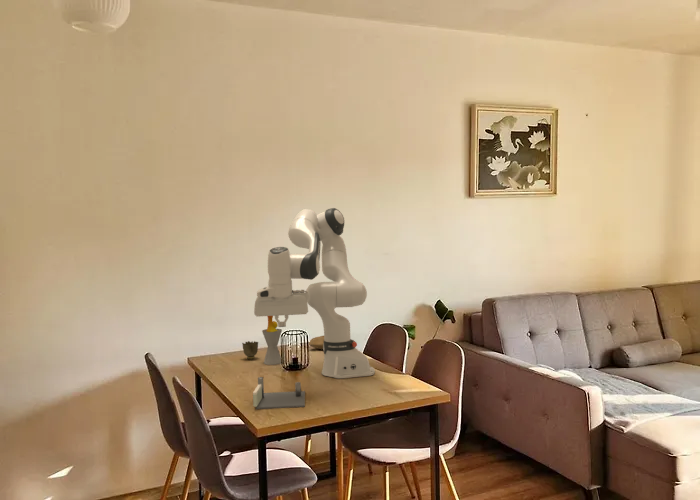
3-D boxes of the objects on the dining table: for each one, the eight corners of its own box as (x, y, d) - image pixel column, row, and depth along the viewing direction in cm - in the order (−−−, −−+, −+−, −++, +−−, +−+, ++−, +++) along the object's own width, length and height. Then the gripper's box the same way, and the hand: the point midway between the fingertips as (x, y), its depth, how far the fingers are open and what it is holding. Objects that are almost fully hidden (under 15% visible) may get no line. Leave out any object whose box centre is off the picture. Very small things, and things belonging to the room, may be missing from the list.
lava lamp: (274, 365, 281) (271, 288, 279) (259, 363, 285) (256, 287, 283) (286, 361, 288) (284, 286, 286) (271, 359, 293) (268, 285, 291)
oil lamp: (305, 349, 313) (304, 333, 313) (329, 345, 322) (329, 329, 322) (317, 353, 304) (317, 336, 304) (342, 348, 313) (341, 332, 313)
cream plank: (258, 397, 227) (258, 384, 227) (262, 397, 227) (261, 384, 227) (253, 406, 217) (252, 392, 216) (256, 406, 217) (256, 392, 216)
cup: (250, 356, 300) (250, 340, 300) (262, 358, 296) (261, 341, 295) (239, 359, 294) (239, 343, 294) (250, 361, 290) (250, 344, 289)
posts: (301, 396, 231) (300, 375, 230) (301, 398, 229) (300, 376, 228) (258, 398, 230) (258, 377, 229) (258, 400, 228) (257, 378, 227)
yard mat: (304, 392, 236) (304, 391, 236) (304, 406, 218) (304, 405, 218) (259, 394, 235) (259, 393, 235) (255, 409, 217) (255, 407, 217)
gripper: (308, 288, 238) (309, 323, 239) (254, 290, 236) (255, 326, 238) (308, 290, 232) (309, 327, 233) (252, 293, 230) (254, 329, 231)
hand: (282, 326), depth 235 cm, fingers closed
